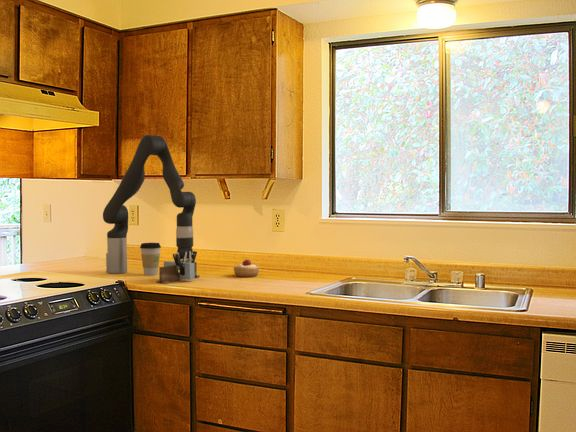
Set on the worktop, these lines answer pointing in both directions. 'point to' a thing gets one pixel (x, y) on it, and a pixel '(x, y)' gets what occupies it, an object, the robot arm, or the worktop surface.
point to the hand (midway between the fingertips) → (185, 274)
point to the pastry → (246, 269)
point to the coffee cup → (150, 258)
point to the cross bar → (188, 269)
